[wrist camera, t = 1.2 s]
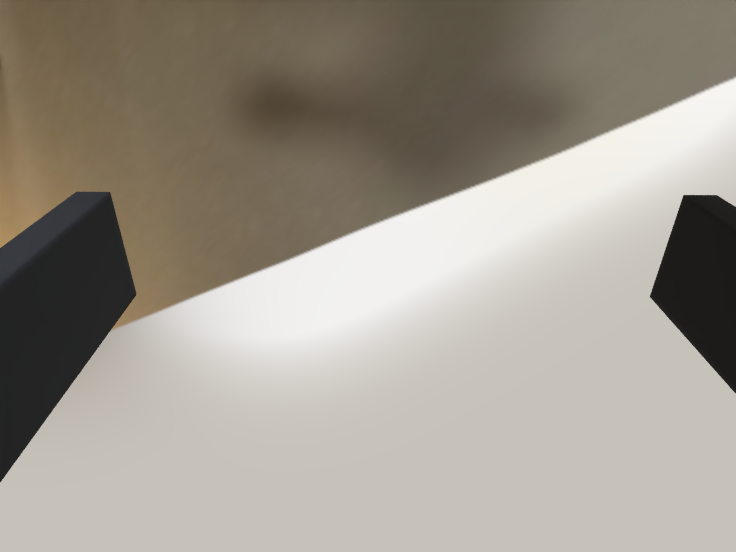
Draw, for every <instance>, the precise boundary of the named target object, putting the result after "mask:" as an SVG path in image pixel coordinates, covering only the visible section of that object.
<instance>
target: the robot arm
mask: <svg viewBox="0 0 736 552" xmlns="http://www.w3.org/2000/svg"><path fill="white" fill-rule="evenodd" d="M135 296H136V291H135V287H134V283H133V279H132V275H131V271H130V267H129V264H128V260H127V256H126V252H125V248H124V244H123V240H122V236H121V233H120V229H119V225H118V221H117V217H116V213H115V209H114V205H113V202H112V198H111V194H110V192H76V193H74V194H73V195H72V196H70V197H69V198H67V199H66V200H65V201H63V202H62V203H61V204H59V205H58V206H57V207H55V208H54V209H53V210H51V211H50V212H49V213H47V214H46V215H44V216H43V217H42V218H40V219H39V220H38V221H36V222H35V223H34V224H32V225H31V226H30V227H28V228H27V229H26V230H24V231H23V232H22V233H20V234H19V235H17V236H16V237H15V238H13V239H12V240H11V241H9V242H8V243H7V244H5V245H4V246H3V247H1V248H0V482H1V481H2V479H3V478H4V477H5V475H6V474H7V472H8V471H9V469H10V468H11V467H12V465H13V464H14V463H15V461H16V460H17V459H18V457H19V456H20V454H21V453H22V451H23V450H24V449H25V448H26V446H27V445H28V443H29V442H30V441H31V439H32V438H33V436H34V435H35V434H36V432H37V431H38V430H39V428H40V427H41V425H42V424H43V423H44V421H45V420H46V418H47V417H48V416H49V414H50V413H51V412H52V410H53V409H54V408H55V406H56V405H57V403H58V402H59V401H60V399H61V398H62V397H63V395H64V394H65V392H66V391H67V390H68V388H69V387H70V385H71V384H72V383H73V381H74V380H75V379H76V377H77V376H78V374H79V373H80V372H81V370H82V369H83V367H84V366H85V364H86V363H87V362H88V361H89V359H90V358H91V356H92V355H93V354H94V352H95V351H96V350H97V348H98V347H99V345H100V344H101V343H102V341H103V340H104V339H105V337H106V336H107V334H108V333H109V332H110V330H111V329H112V328H113V326H114V325H115V323H116V322H117V321H118V319H119V318H120V317H121V315H122V314H123V312H124V311H125V310H126V308H127V307H128V306H129V304H130V303H131V301H132V300H133V299H134V297H135ZM650 297H651V298H652V300H653V301H654V302H655V303H656V304H657V305H658V306H659V308H660V309H661V310H662V311H663V312H664V313H665V314H666V315H667V317H668V318H669V319H670V320H671V321H672V322H673V323H674V324H675V325H676V327H677V328H678V329H679V330H680V331H681V332H682V333H683V335H684V336H685V337H686V338H687V339H688V340H689V341H690V343H691V344H692V345H693V346H694V347H695V348H696V349H697V350H698V352H699V353H700V354H701V355H702V356H703V357H704V358H705V359H706V361H707V362H708V363H709V364H710V365H711V366H712V367H713V368H714V370H715V371H716V372H717V373H718V374H719V375H720V376H721V377H722V379H723V380H724V381H725V382H726V383H727V384H728V385H729V386H730V388H731V389H732V390H733V391H734V392H735V393H736V207H735V206H733V205H732V204H730V203H728V202H726V201H725V200H723V199H722V198H720V197H719V196H717V195H684V196H683V199H682V202H681V205H680V208H679V211H678V214H677V217H676V220H675V223H674V226H673V229H672V232H671V235H670V238H669V241H668V244H667V247H666V250H665V253H664V256H663V259H662V262H661V265H660V268H659V271H658V274H657V277H656V280H655V283H654V286H653V289H652V292H651V295H650Z"/></svg>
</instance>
